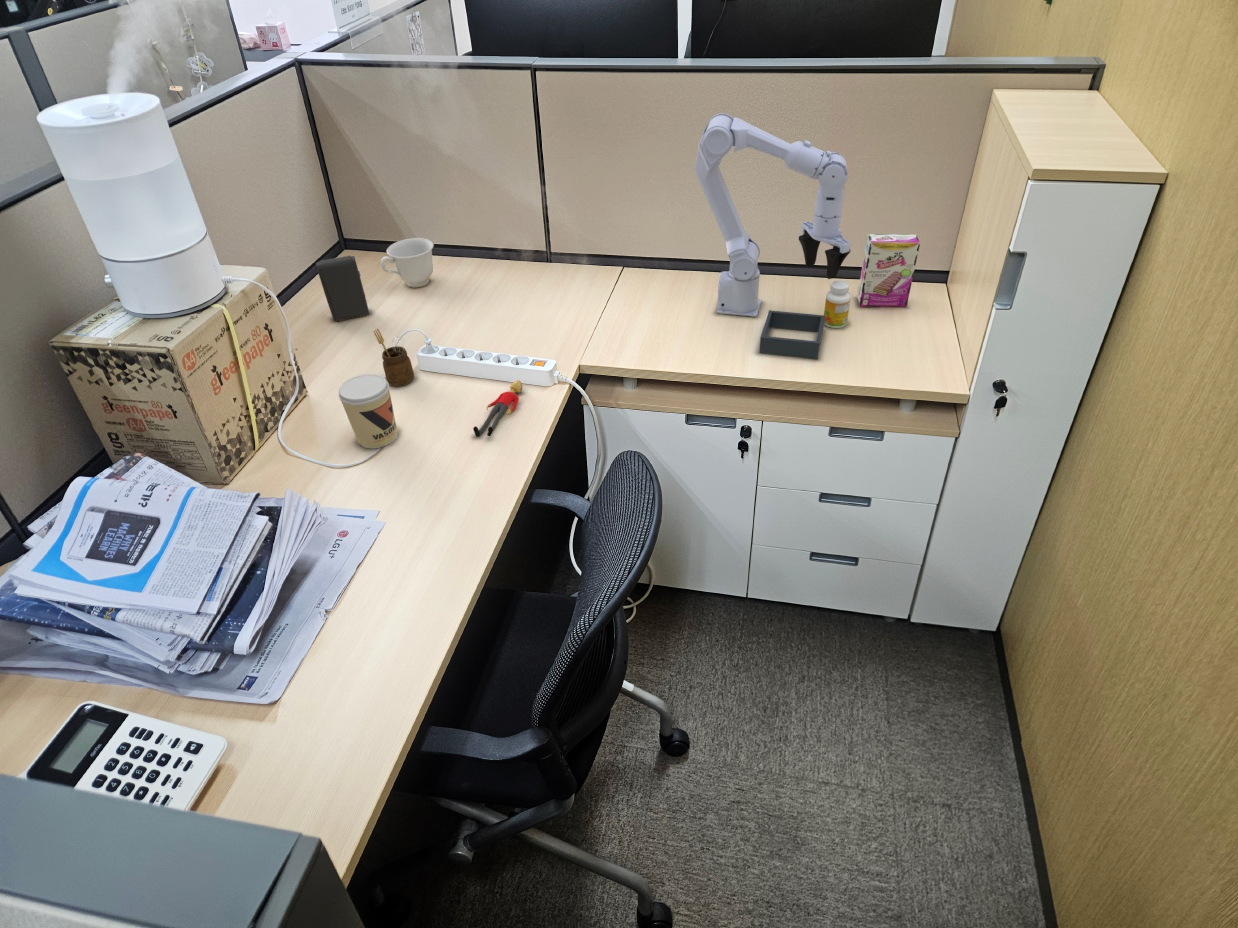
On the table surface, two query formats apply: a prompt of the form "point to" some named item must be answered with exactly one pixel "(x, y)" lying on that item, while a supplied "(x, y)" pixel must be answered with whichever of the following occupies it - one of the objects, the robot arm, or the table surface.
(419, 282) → the teacup
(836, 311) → the supplement bottle
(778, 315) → the tray
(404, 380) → the utensil holder
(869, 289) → the candy bar box
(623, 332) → the table surface
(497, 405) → the person figure
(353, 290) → the dark grey upright block
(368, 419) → the beige lidded canister
